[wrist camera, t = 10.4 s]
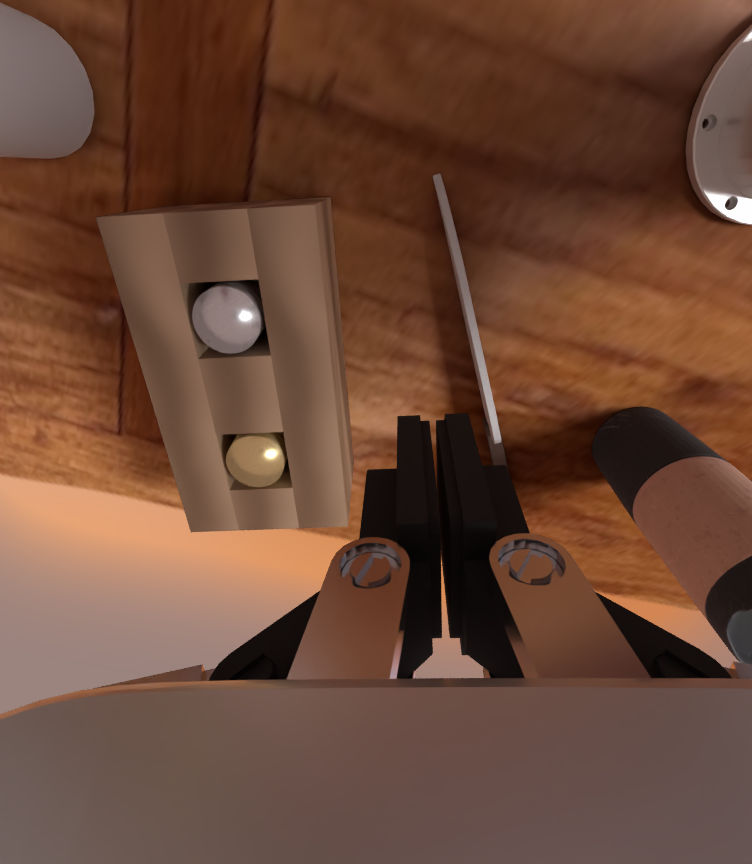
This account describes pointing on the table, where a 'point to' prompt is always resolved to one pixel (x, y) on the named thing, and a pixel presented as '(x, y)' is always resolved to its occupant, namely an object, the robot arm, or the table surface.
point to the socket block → (241, 355)
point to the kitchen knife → (471, 328)
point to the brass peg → (257, 458)
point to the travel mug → (686, 513)
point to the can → (40, 90)
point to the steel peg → (230, 315)
